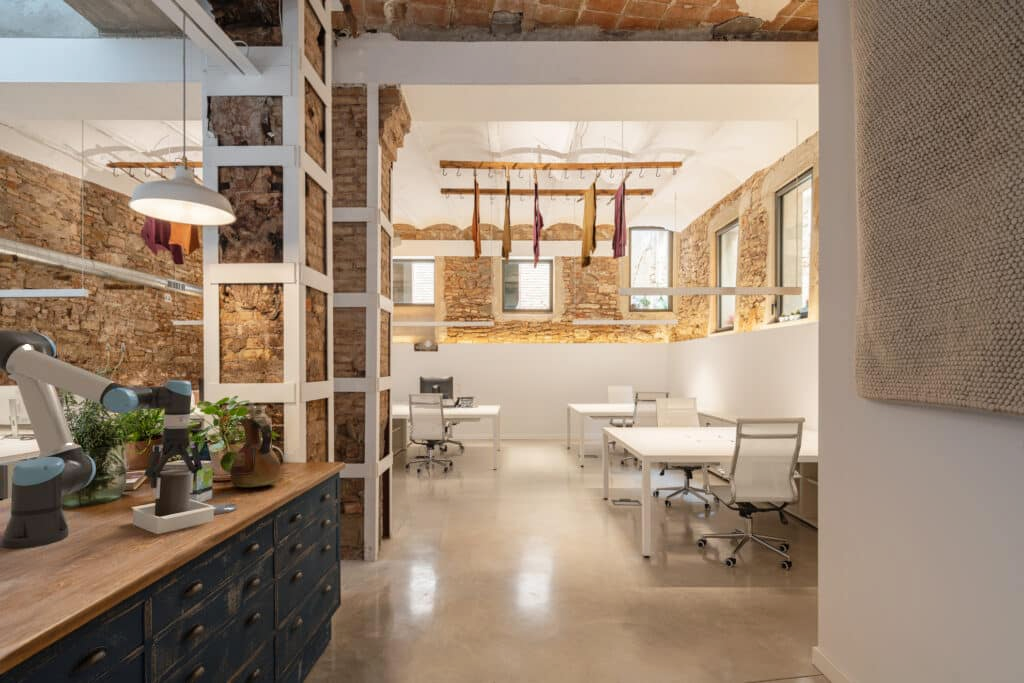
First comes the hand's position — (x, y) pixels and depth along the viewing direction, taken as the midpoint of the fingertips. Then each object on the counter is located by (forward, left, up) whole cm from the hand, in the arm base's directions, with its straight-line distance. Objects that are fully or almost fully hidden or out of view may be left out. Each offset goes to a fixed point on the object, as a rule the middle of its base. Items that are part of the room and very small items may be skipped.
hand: (173, 494), depth 184 cm
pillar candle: (0, 0, -6) cm, 6 cm away
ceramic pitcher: (+46, +28, -9) cm, 55 cm away
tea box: (+17, +27, -10) cm, 33 cm away
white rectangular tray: (0, 0, -9) cm, 9 cm away
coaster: (+17, +4, -9) cm, 20 cm away
